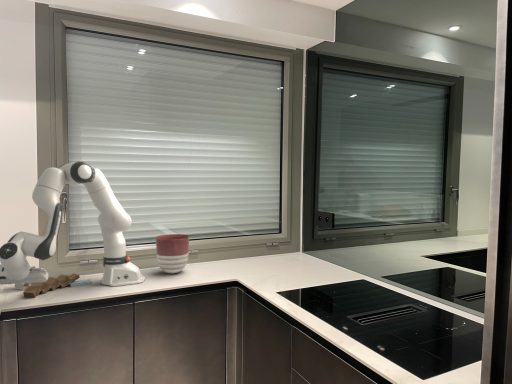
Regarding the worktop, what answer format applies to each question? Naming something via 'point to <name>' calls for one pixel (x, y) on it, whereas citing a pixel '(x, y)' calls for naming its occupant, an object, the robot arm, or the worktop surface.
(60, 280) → the domino
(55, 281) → the domino
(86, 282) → the domino
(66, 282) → the domino
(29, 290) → the domino
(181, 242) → the planter
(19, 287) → the small box
